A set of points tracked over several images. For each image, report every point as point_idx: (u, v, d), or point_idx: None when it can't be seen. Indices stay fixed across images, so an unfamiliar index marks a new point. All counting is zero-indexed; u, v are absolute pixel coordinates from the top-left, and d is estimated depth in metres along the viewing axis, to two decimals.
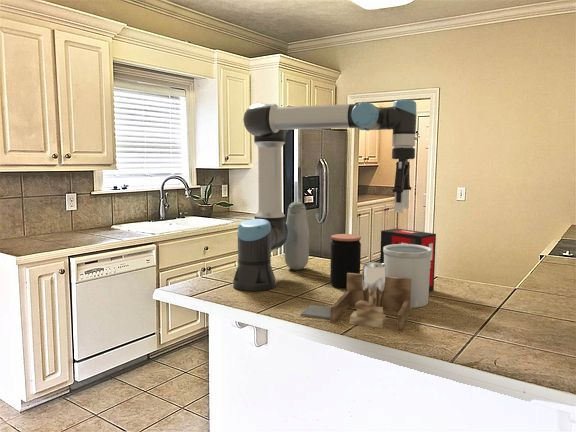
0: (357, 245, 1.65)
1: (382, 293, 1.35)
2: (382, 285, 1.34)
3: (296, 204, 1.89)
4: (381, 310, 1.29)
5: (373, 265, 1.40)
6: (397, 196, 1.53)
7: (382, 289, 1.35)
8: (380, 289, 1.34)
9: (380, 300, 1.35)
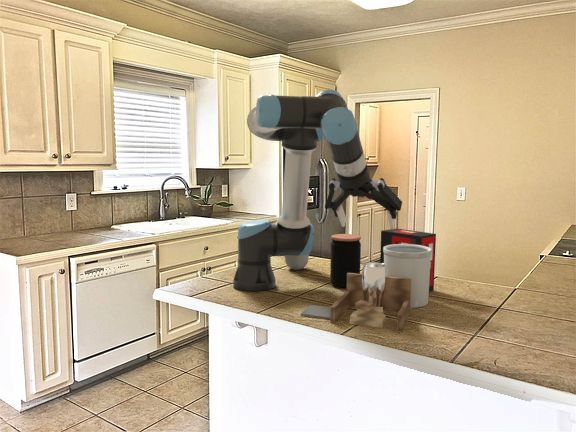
0: (357, 245, 1.65)
1: (382, 293, 1.35)
2: (382, 285, 1.34)
3: None
4: (381, 310, 1.29)
5: (373, 265, 1.40)
6: None
7: (382, 289, 1.35)
8: (380, 289, 1.34)
9: (380, 300, 1.35)
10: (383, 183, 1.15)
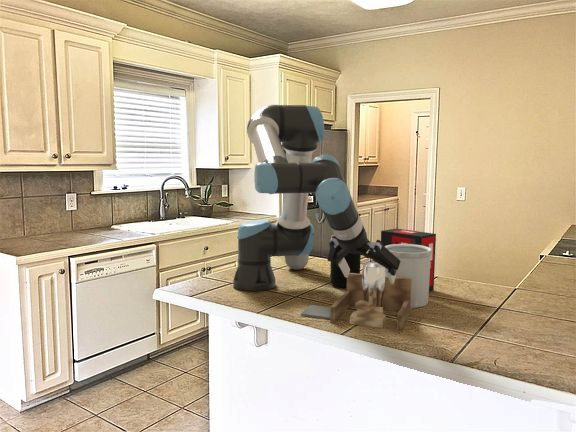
0: None
1: (382, 293, 1.35)
2: (382, 285, 1.34)
3: None
4: (381, 310, 1.29)
5: (373, 265, 1.40)
6: None
7: (382, 289, 1.35)
8: (380, 289, 1.34)
9: (380, 300, 1.35)
10: (380, 245, 1.18)
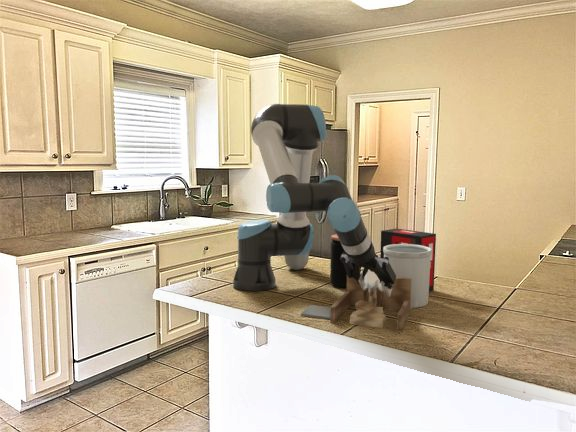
0: None
1: (382, 293, 1.35)
2: (382, 285, 1.34)
3: None
4: (381, 310, 1.29)
5: None
6: None
7: (382, 289, 1.35)
8: (380, 289, 1.34)
9: (380, 300, 1.35)
10: (387, 262, 1.26)
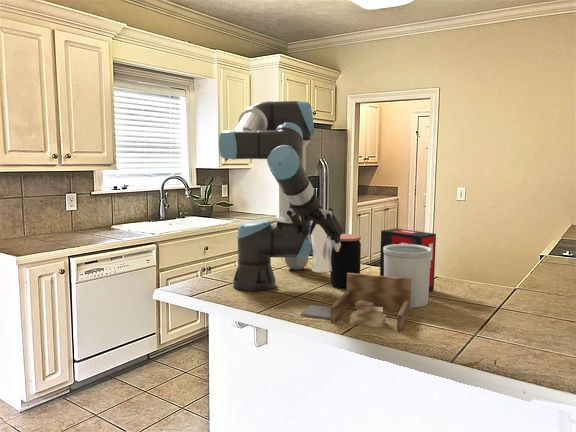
0: (357, 245, 1.65)
1: (330, 248, 1.35)
2: (329, 239, 1.35)
3: None
4: (381, 310, 1.29)
5: None
6: None
7: (329, 243, 1.35)
8: (327, 243, 1.35)
9: (328, 255, 1.36)
10: (331, 213, 1.27)
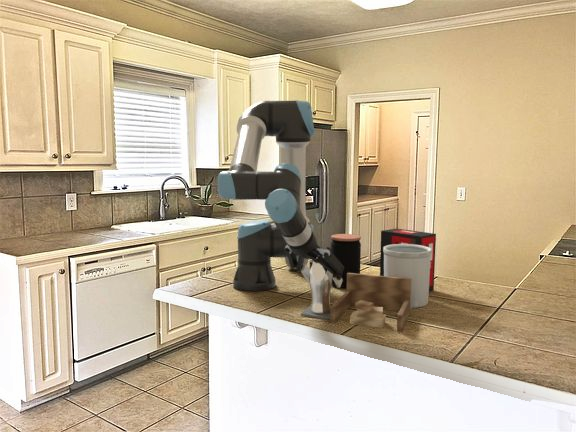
0: (357, 245, 1.65)
1: (328, 289, 1.37)
2: (328, 281, 1.36)
3: None
4: (381, 310, 1.29)
5: None
6: None
7: (328, 285, 1.36)
8: (326, 284, 1.36)
9: (326, 296, 1.37)
10: (329, 252, 1.27)
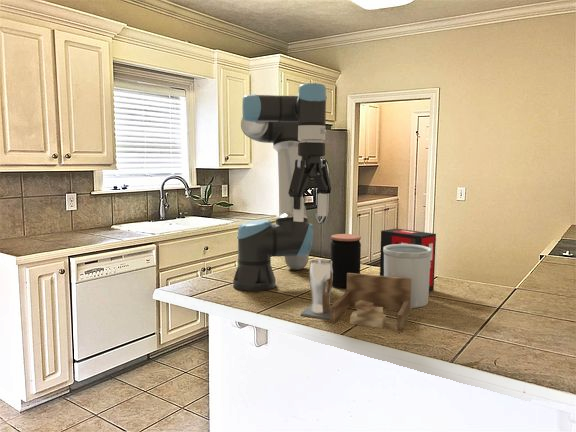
0: (357, 245, 1.65)
1: (328, 289, 1.37)
2: (328, 281, 1.36)
3: None
4: (381, 310, 1.29)
5: (320, 261, 1.41)
6: (294, 202, 1.25)
7: (328, 285, 1.36)
8: (326, 285, 1.36)
9: (326, 296, 1.37)
10: None
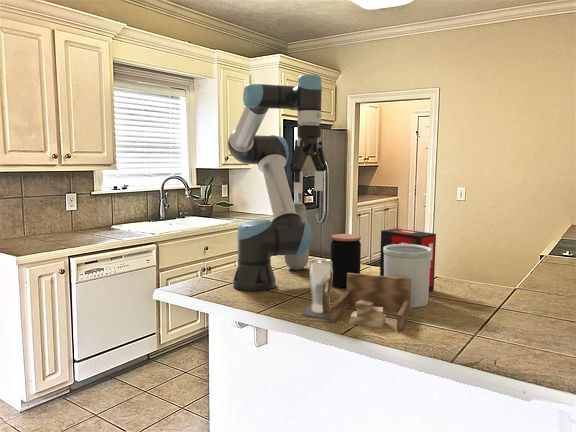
0: (357, 245, 1.65)
1: (328, 289, 1.37)
2: (328, 281, 1.36)
3: (296, 204, 1.89)
4: (381, 310, 1.29)
5: (320, 261, 1.41)
6: (295, 176, 1.45)
7: (328, 285, 1.36)
8: (326, 285, 1.36)
9: (326, 296, 1.37)
10: None
